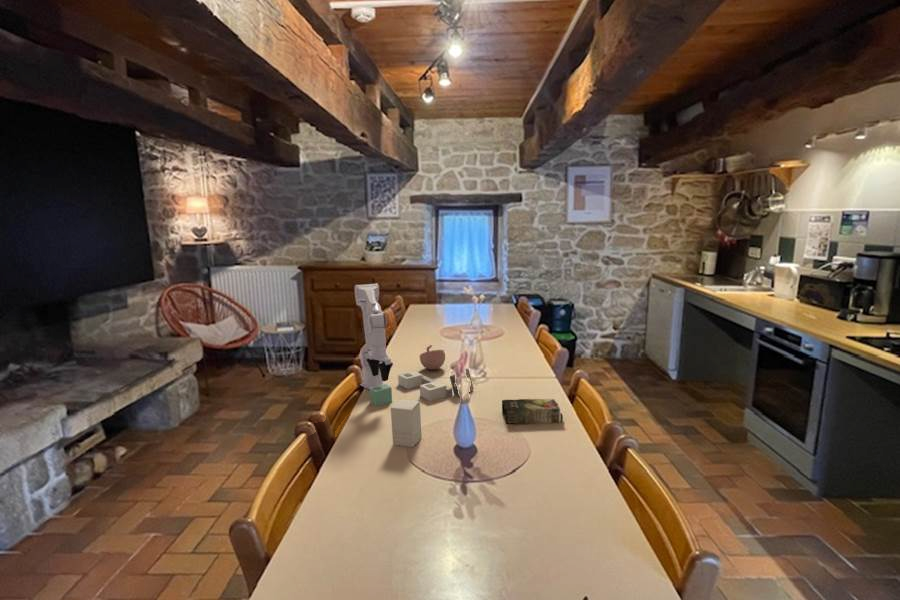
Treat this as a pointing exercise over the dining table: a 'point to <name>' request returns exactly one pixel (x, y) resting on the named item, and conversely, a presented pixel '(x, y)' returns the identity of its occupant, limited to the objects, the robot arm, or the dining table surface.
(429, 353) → the reddish brown round piece
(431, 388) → the rail mount
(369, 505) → the dining table surface
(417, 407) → the supplement box
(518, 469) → the dining table surface
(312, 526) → the dining table surface
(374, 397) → the block
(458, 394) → the electrical switch
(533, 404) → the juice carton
